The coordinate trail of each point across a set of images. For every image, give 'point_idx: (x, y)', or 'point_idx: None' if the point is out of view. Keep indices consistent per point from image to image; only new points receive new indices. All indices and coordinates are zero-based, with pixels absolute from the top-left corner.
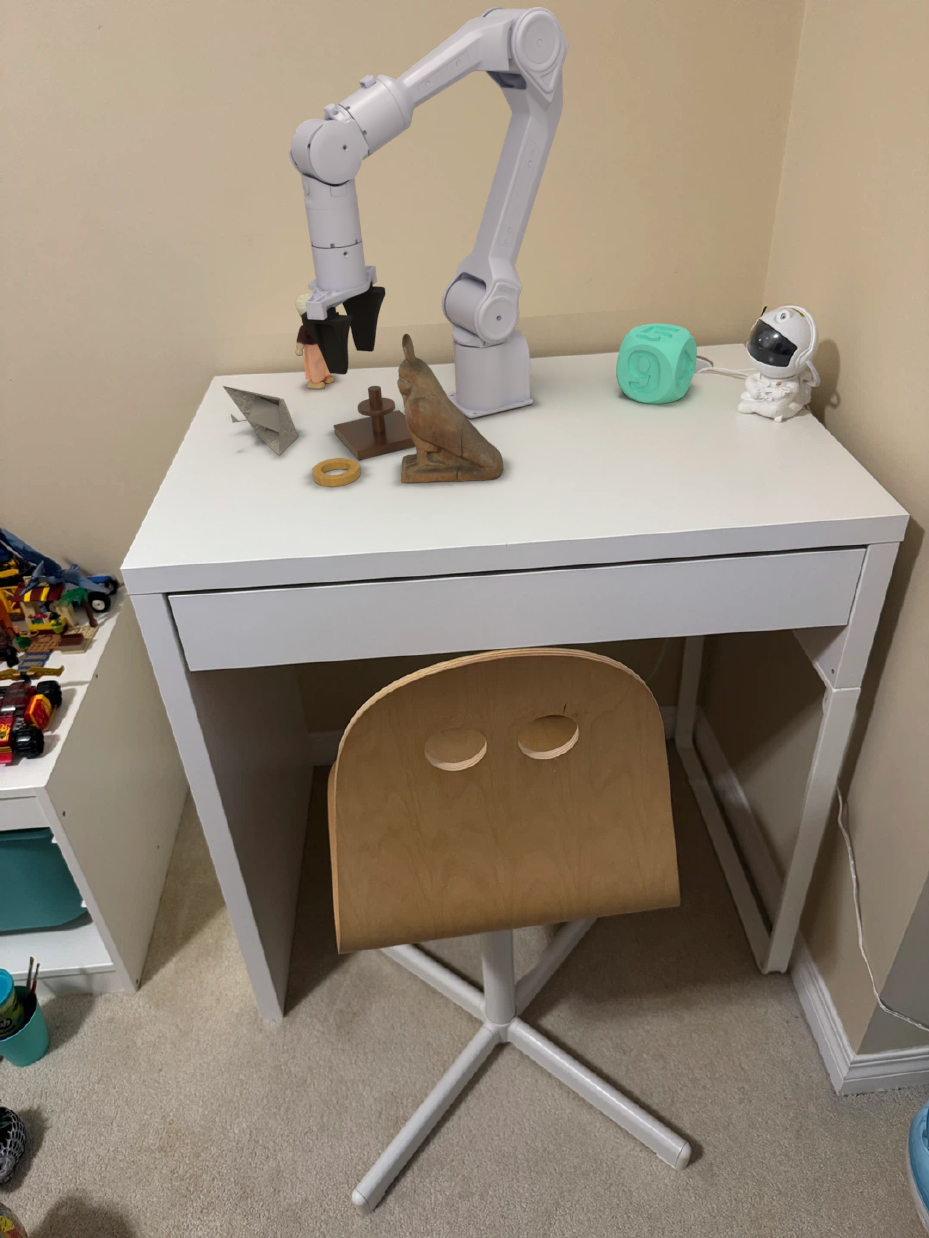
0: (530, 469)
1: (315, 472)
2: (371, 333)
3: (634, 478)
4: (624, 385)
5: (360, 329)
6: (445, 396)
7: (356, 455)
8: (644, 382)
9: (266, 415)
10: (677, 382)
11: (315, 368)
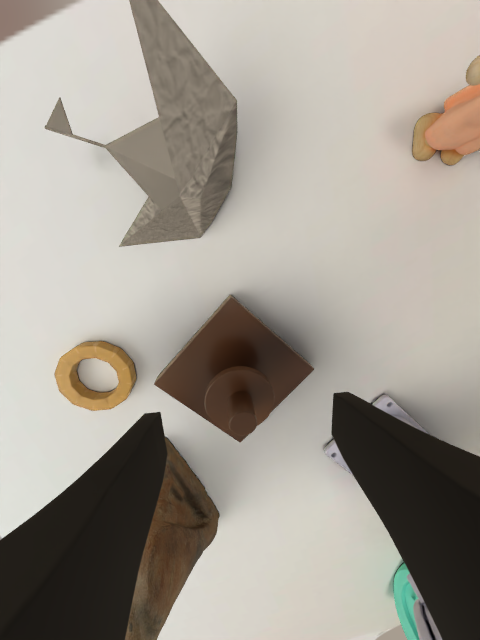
0: (212, 547)
1: (65, 359)
2: (365, 484)
3: (225, 615)
4: None
5: (377, 461)
6: None
7: (160, 374)
8: (412, 606)
9: (154, 176)
10: None
11: (457, 126)
